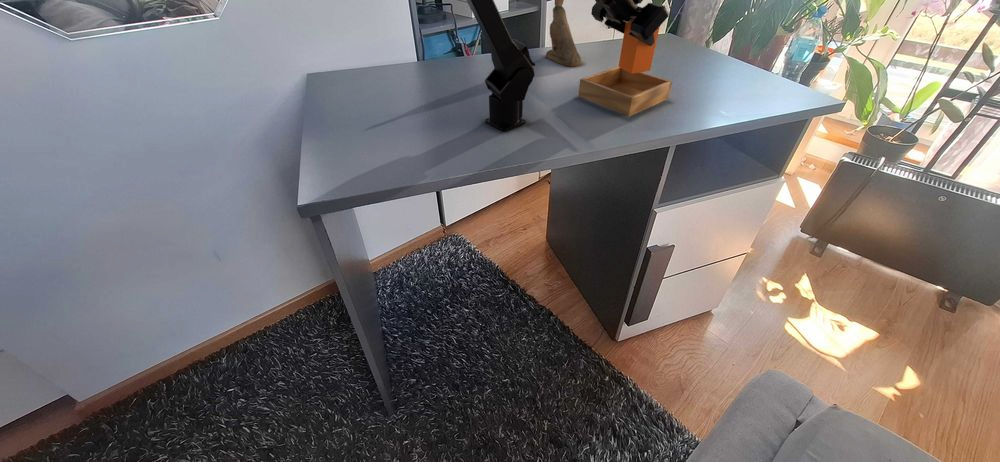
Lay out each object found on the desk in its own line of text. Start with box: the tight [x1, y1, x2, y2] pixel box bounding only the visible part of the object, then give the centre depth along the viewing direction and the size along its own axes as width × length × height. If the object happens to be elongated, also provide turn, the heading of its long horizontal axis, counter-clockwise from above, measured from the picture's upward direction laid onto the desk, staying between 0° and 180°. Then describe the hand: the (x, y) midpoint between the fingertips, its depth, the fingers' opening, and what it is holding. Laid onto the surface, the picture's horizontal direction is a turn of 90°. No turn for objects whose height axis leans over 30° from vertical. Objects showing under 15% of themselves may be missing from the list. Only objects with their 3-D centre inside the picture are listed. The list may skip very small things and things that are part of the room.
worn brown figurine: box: [545, 0, 582, 68], centre depth 116 cm, size 12×6×18 cm, turn 28°
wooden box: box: [578, 66, 673, 117], centre depth 95 cm, size 15×15×5 cm
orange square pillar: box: [617, 19, 661, 74], centre depth 89 cm, size 5×5×11 cm
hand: (644, 40), depth 89 cm, fingers closed on orange square pillar, 5 cm apart
